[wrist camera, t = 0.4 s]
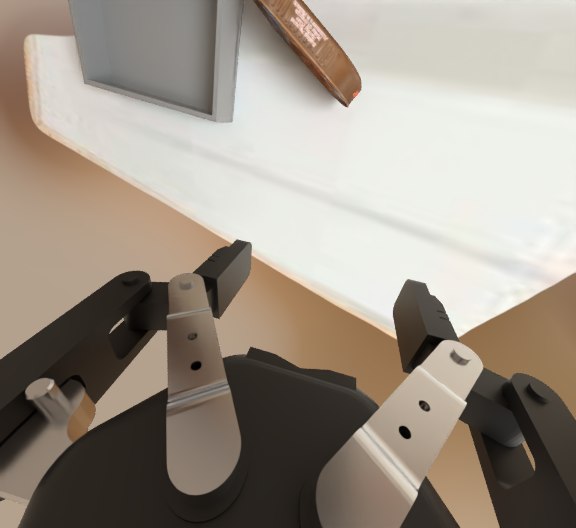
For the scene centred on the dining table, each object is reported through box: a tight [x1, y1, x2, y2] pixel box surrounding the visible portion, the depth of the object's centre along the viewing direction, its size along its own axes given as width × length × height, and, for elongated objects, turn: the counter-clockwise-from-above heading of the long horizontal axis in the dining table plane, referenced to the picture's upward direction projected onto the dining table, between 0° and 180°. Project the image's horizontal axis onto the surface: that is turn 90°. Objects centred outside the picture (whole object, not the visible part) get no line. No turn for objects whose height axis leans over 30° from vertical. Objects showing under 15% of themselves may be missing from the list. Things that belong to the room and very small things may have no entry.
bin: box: [68, 0, 243, 122], centre depth 31 cm, size 14×20×5 cm
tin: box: [254, 0, 361, 107], centre depth 26 cm, size 15×3×8 cm, turn 49°
